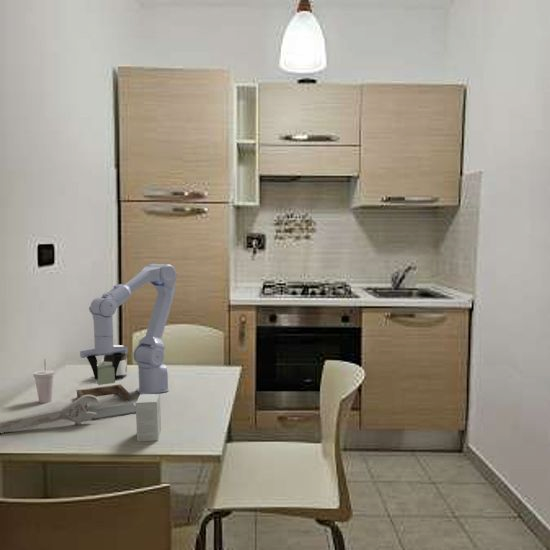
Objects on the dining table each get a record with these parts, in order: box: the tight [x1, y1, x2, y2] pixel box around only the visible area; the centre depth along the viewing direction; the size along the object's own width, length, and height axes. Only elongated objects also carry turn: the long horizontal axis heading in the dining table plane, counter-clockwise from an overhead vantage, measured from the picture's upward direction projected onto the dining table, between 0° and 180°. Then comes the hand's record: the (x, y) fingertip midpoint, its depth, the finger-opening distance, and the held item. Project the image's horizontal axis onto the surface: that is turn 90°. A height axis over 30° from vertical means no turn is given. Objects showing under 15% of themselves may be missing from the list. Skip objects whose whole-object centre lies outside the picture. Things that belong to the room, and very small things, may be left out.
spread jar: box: [97, 344, 128, 380], centre depth 220 cm, size 12×11×12 cm
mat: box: [86, 402, 136, 421], centre depth 177 cm, size 14×9×1 cm, turn 118°
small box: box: [135, 393, 162, 443], centre depth 155 cm, size 8×6×10 cm
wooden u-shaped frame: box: [76, 383, 130, 408], centre depth 191 cm, size 14×12×2 cm
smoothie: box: [33, 358, 55, 404], centre depth 189 cm, size 6×6×14 cm
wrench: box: [0, 395, 100, 434], centre depth 163 cm, size 8×2×30 cm
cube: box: [95, 364, 116, 386], centre depth 185 cm, size 5×5×5 cm
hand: (105, 377), depth 185 cm, fingers closed on cube, 5 cm apart
